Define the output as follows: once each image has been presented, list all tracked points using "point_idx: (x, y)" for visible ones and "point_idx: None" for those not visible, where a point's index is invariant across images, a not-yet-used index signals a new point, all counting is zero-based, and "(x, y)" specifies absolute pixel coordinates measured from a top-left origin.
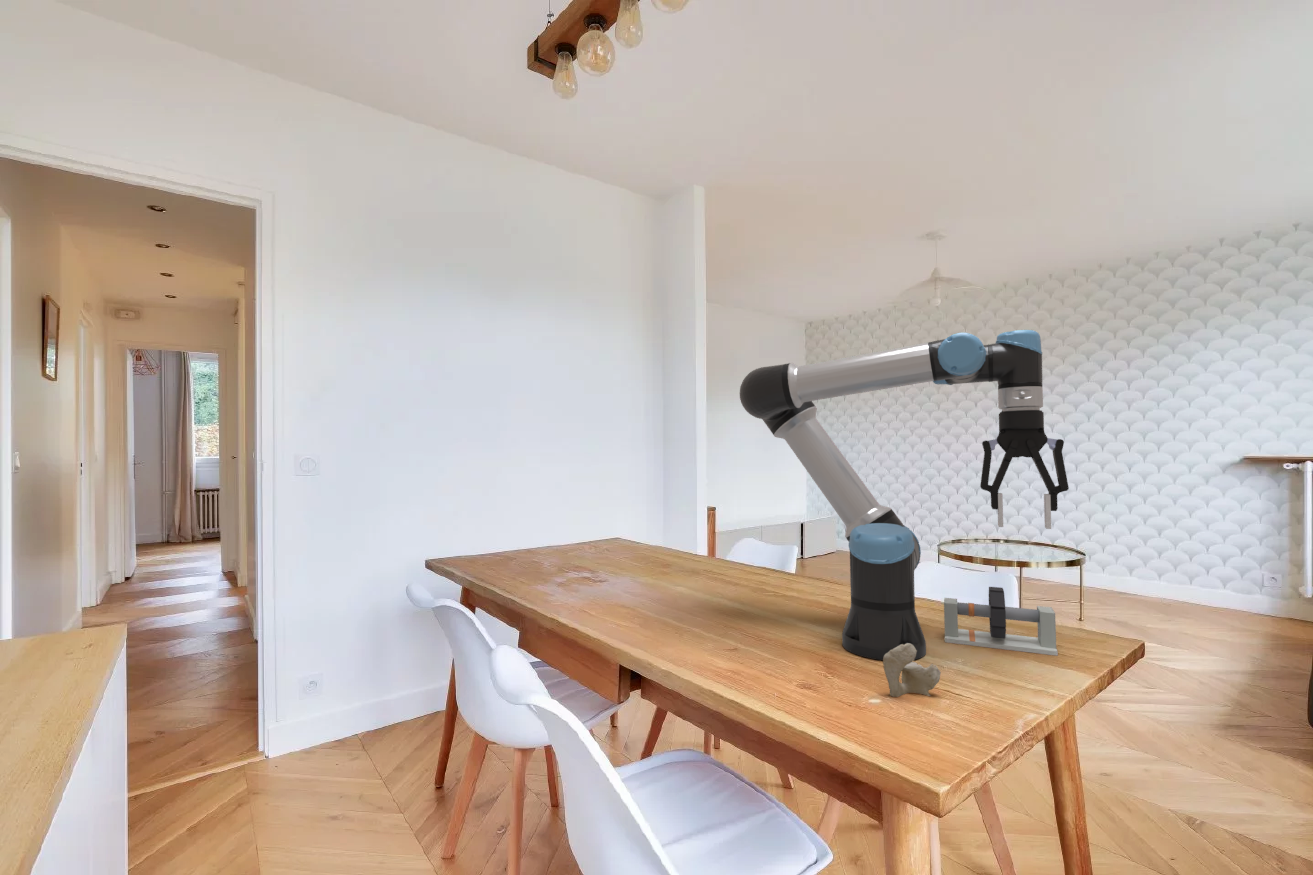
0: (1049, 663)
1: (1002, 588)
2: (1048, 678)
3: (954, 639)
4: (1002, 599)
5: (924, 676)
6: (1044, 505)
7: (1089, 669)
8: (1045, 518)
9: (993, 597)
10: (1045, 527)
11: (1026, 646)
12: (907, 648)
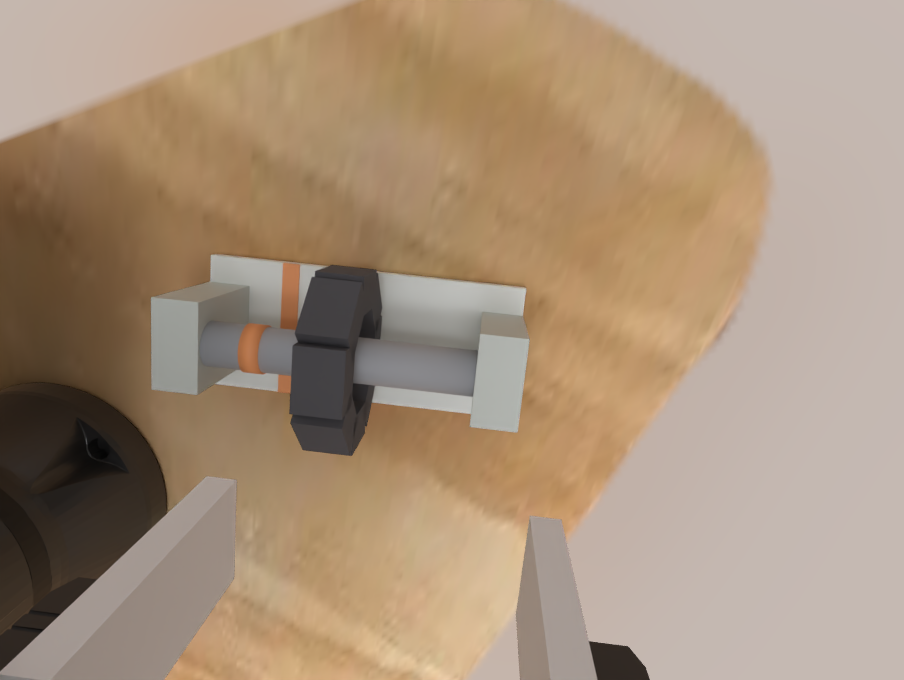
0: (469, 487)
1: (343, 367)
2: (439, 598)
3: (236, 385)
4: (338, 441)
5: None
6: (541, 663)
7: (557, 506)
8: (526, 619)
9: (306, 436)
10: (524, 556)
11: (432, 396)
12: None
